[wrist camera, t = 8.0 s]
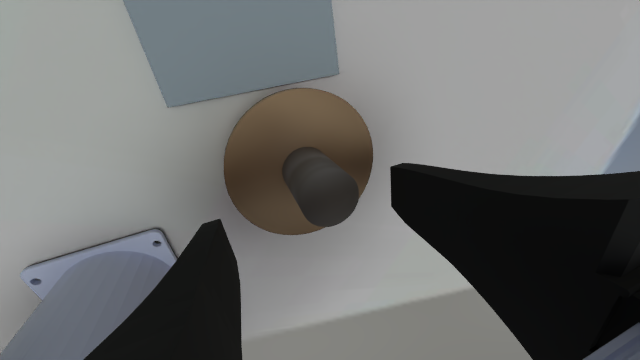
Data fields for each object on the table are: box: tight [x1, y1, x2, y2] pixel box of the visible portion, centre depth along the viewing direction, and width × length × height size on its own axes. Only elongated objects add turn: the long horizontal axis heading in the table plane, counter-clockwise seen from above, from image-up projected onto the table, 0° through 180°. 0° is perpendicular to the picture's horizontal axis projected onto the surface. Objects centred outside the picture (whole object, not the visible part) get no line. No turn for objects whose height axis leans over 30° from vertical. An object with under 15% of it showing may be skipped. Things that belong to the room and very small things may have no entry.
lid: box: [224, 88, 373, 235], centre depth 13 cm, size 9×9×5 cm
